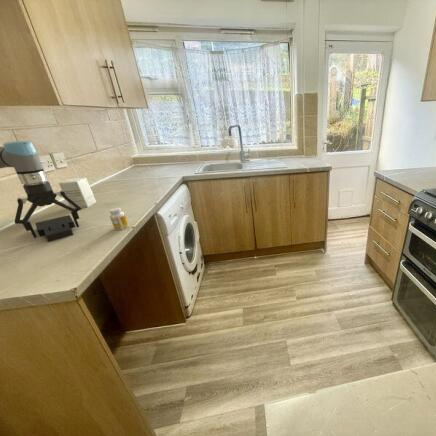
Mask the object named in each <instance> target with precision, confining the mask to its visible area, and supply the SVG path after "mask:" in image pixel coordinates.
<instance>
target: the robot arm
mask: <svg viewBox="0 0 436 436" xmlns="http://www.w3.org/2000/svg"><path fill="white" fill-rule="evenodd" d="M5 168H14V171H15V173H16V175H17V177H18V179H19V182H20V184H21V185H22V188H23V189H24V192H25V195H26V197H22V198H21V197H17V198H16V201H17V208H16V213H15V217H14V224H15V225H18V224H21V225H22V226H23V227H24V229H25V231H26V232H29V231H30V232H31V235H32V236H33V238H34V239H37V238H38V236H37V233H36V232H35V229H34V227H33V225H32V223H31V221H30V218H31V217H32V215H33V213H34V212H35V210H36V209H37V207H44V206H50V205H52V204H54V205H57V206H59V207H62V208H64V209H65V210H68V211H70V214H71V217H72V220H73V222H74V224H75V227H76V228H80V224H79V222H78V220H80V216H79V211H81V210H82V208H81V207H80V206H79V205H77V204H76V203H75V202H74V201H72V200H71V199H70V198H69V197H67V196H66V195H65V193H64V191H62V189H61V190H59V191H56V192H55V191H54V190H53V188H52V186H51V182H49V181H48V180H49V178H48V175H47V174H46V172H45V169H44V166H43V164H42V161H41V158H40V157H39V154H38V151H37V150H36V148H35V146H34V144H33V143H32V142H31V141H29V140H19V141H17V140H16V141H7V142H4V143H3V146H0V169H5ZM57 196H58V197H59V198H63V199H64V200H65V201H66V202H67V201H68V202H69V203H70V204H72V205H73V206H74V207H76V208H72V207H70V206H69V204H66V203H64V202H62V201H60V200H58V199H56V198H57ZM27 202H29V203H31V205H30V207H29V208H28V210H27V212H26V213H25V215H24V216H23V217H22V213H23V209H24V205H25V204H26V203H27ZM68 202H67V203H68ZM21 217H22V219H21Z"/></svg>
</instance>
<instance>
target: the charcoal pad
mask: <svg viewBox="0 0 436 436" xmlns="http://www.w3.org/2000/svg"><path fill="white" fill-rule="evenodd" d="M66 223H68V224H69V226H70V228H71V229H73V228H76V224H75V221H74V219H73V217H72V216H71V215H70V214H68V215H64V216H59V217H55V218H51V219H47V220H42V221H37V222H35V228H36V232H37V234H38V236H39V237H44V236H45V232H44V229H46V228H48V229H49V231H51V230H55V229H59V228H63V227H65V226H64V224H66Z"/></svg>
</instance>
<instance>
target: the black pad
mask: <svg viewBox="0 0 436 436" xmlns="http://www.w3.org/2000/svg"><path fill="white" fill-rule="evenodd" d="M64 226H65V227H63V228H59V229H55V230H51V231H49V229H48V228H46V229H44V232H45V235H44V236H45V238H46V241H47V242H48V243H50V242H53V241H57V240H60V239H65V238H67V237H71V236H74V233H73V230H72V228H70V226H69V224H68V223H66V224H64Z"/></svg>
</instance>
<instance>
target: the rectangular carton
mask: <svg viewBox="0 0 436 436" xmlns="http://www.w3.org/2000/svg"><path fill="white" fill-rule="evenodd" d="M58 185H59V187H60V189H61V190H62V191H64V193H65V195H66V196H67V197H69V198H70V199H71V200H72V201H74V202H75V203H76V204H77V205H79V206H80V207H81V209H85V208H90V207H91V206H93V205H94V204H96V203H97V200H96V197H95V195H94V193H93V190H92V188H91V186H90V183H89V181H88V179H87V177H76V178H68V179H66V180H63V181H61V182H58ZM66 202H67V205H68V206H70V207H72V208H76V207H74V206H73V205H72V204H70V203H69V202H68V201H67V200H66Z"/></svg>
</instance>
